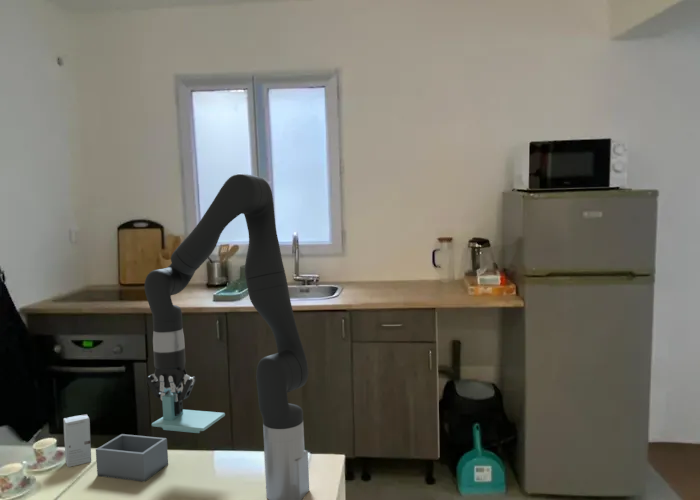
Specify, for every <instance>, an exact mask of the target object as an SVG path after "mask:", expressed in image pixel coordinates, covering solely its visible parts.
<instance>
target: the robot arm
mask: <svg viewBox="0 0 700 500" xmlns="http://www.w3.org/2000/svg"><path fill="white" fill-rule="evenodd" d="M273 197H274V196H273V192H272V189H271V186H270V184H269V183H268V181H267V180H266V179H264V178H263V177H262V176H261V177H260V176H257V175H252V174H249V173H248V174H247V173H235V174H233V175H231V176H230V177H228V178H227V179H226V181H225V182H224V184H222V186H221V187H220V189H219V191H218V192H217V194H216V196H215V198H214V199H213V201H212V202H211V204H210V205H209V207H208V208H207V210H206V211H205V212H204V214H203V216H202V218H200V220H199V221H198V223H197V225H196V226H195V227H194V228H193V230H192V231H191V232H190V233H189V234H188V236H187V237H186V238H185V239H184V240H183V241H182V242H181V243H180V244H179V245H178V246H177V248H176V249H175V250H174V251H173V252H172V254H171V256H170V262H171V264H169V265H168V266H167V267H165V268H159V269H153V270H151V271H150V272H149V273H148V274H147V275H146V277H145V280H144V292H145V297H146V300H147V302H148V305H149V309H150V311H151V313H152V327H153V328H152V329H153V330H152V331H153V332H152V333H153V334H152V347H153V365H154V368H155V370H154V373H152V374H150V375H148V376H146V377H145V381H146V382H147V385H148V386H149V388H150V391H151V392H152V394H153V397H154V398H155V399H160V400H161V402H162V396H164V395H166V394H168V393H169V392H171V393H173V397H174V401H175V402H174V411H175V416H179V415H180V414H181V413H182V411H183V409H184V406H183V404H182V403H183V400H186V399H188V398H189V397H190V395H191V392H192V391H193V388H194V386H195V383H196V381H197V377H196V376H194V375H193V376H190V375H189V374H188V372H187V370H186V347H185V345H186V344H185V335H184V328H183V327H184V326H183V313H182V309H181V307H180V306H178V305H175V304H174V303H173V300H172V296H173V295H174V296H175V295H178V294H179V293H181V292H182V291H183V290H185V289H186V287H187V286H189V283H190V282H191V279H192V278H193V276H194V275H195V273H196V271H197V270H198V269H199V268H200V267H201V266H202V265H203V264H204V263H205V262H206V261H207V260H208V259H209V257H210V256H211V254H212V253H213V252H214V250H215V249H216V247H217V245H218V242H219V239H220V237H221V235H222V233H223V231H224V230H225V229H226V228H227V226H228V225H229V224H230V223H231V222H232V221H233V220H234V219H237V217H239V216H240V215H241V214H242V215H244V218H245V222H246V227H247V233H248V247H247V252H246V258H245V263H244V277H245V283H246V287H247V292H248V298H249V300H250V303H251V304H252V306H253V308H255V311H257V312H258V314H259V315H260V316H261V318H262V319H263V320H264V321H265V322H266V324H267V325H268V326H269V328H270V330H271V332H272V334H273V337H274V341H275V344H276V348H277V352H276V353H273V354H270V355H266V356H264V357H262V358H261V359H260V360H259V362H258V364H257V366H256V372H255V373H256V374H255V375H256V388H257V389H256V390H257V398H258V408H259V411H260V414H261V417H262V427H263V428H262V429H263V446H264V447H263V450H264V454H263V455H264V469H265V470H264V473H265V475H264V476H265V491H266V498H267V500H303V499H304V497H305V496H306V495H307V493H308V492H309V490H310V481H309V480H310V477H309V475H310V473H309V471H310V470H309V451H308V450H306V449H305V429H304V410H303V408H302V407H301V406H300V405H298V404H294V403H289V398H288V393H289V392H292V391H295V390H298V389H300V388H302V387H303V386H305V385H306V384H307V382H308V378H309V365H308V361H307V356H306V354H305V350H304V347H303V344H302V340H301V338H300V333H299V330H298V328H297V327H298V326H297V324H296V318H295V315H294V311H293V306H292V301H291V296H290V292H289V286H288V280H287V275H286V271H285V267H284V262H283V257H282V254H281V247H280V243H279V238H278V232H277V225H276V218H275V217H276V215H275V207H274V206H275V204H274V198H273ZM183 384H184V386H183ZM161 405H162V408H163V404H162V403H161Z"/></svg>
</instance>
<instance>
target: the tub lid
mask: <svg viewBox="0 0 700 500" xmlns="http://www.w3.org/2000/svg"><path fill="white" fill-rule="evenodd" d="M174 402H175V401H174V397H173V393H171V391H170V392H169V393H168V394H166V395H164V396H162V401H161V405H162V404H163V407H162V417H160V418H158V419H157V420H155V421H153V422H152V423H151V427H155V428H156V427H157V428H161V429H162V430H163V431H172V432H173V431H174V432H184V433H194V434H200V433H201V432H204V431H206V430H208V428H210V427H211V426H213V425H214V424H215V423H218V421H219V420H221V419H222V418H224V417H225V416H226V413H225V412H218V411H217V412H216V411H206V410H194V409H184V408H183V411H182V413H181V414H180V415H179V416H175V411H174ZM182 404H183V402H182Z"/></svg>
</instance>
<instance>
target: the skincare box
mask: <svg viewBox="0 0 700 500" xmlns="http://www.w3.org/2000/svg"><path fill="white" fill-rule="evenodd" d="M62 420H63V438H64V439H63V440H64V453H65V454H64V455H65V464H66V466H67V468H70V467H74V466H80V465H83V464H88V463H91V462H92V444H91V423H90V422H91V421H90V417H89V416H88V414H87V413H86V414H81V415H74V416H69V417H64V418H63V419H62Z"/></svg>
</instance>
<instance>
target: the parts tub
mask: <svg viewBox="0 0 700 500" xmlns="http://www.w3.org/2000/svg"><path fill="white" fill-rule="evenodd" d="M168 453H169V452H168V439H167V438H166V437H158V436H157V437H156V436H148V435H147V436H145V435H136V434H135V435H134V434H125V433H121V434H119V435H117V436H115V437H114V438H112V439H111V440H108V442H106V443H104V444H103V445H101V446H99V447H97V448H95V457H96V458H95V460H96V474H97V477H103V478H112V479H117V480H118V479H121V480H127V481H128V480H129V481H136V482H137V481H138V482H144V483H145V482H146V481H148V480H149V479H150V478H152V477H153V476H154V475H156V474H157V473H158V472H160V471H161V470H162V469H164V468H165V467H167V466H168V465H169V454H168Z"/></svg>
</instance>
